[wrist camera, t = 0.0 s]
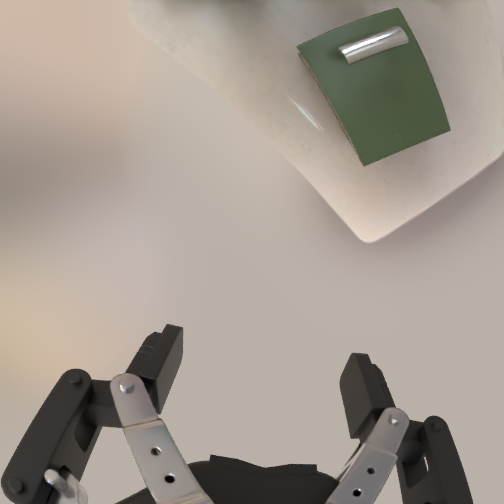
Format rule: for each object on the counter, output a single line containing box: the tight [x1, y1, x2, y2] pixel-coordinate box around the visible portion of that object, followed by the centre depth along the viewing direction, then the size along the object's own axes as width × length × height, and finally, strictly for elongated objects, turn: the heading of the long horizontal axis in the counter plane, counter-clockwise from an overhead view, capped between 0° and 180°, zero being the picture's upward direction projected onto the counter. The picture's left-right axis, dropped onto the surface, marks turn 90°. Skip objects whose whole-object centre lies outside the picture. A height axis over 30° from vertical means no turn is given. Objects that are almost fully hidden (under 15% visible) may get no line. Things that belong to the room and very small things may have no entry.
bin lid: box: [297, 8, 450, 166], centre depth 20 cm, size 14×12×6 cm
